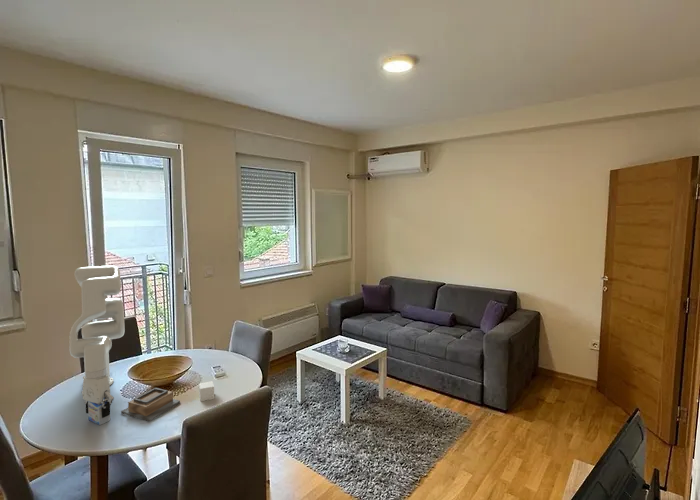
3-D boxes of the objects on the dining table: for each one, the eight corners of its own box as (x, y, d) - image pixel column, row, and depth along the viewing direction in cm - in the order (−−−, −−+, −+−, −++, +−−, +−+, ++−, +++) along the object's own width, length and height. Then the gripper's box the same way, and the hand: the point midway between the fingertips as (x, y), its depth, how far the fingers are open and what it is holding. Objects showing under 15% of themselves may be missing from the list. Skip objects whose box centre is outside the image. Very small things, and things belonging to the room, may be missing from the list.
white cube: (200, 401, 170) (200, 388, 169) (199, 395, 175) (199, 383, 175) (214, 398, 172) (214, 386, 172) (212, 393, 178) (212, 381, 177)
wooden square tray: (121, 413, 158) (120, 399, 158) (152, 396, 173) (152, 383, 173) (150, 421, 153) (149, 407, 152) (180, 403, 168) (179, 390, 167)
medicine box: (88, 420, 153) (87, 400, 152) (99, 415, 157) (98, 395, 156) (99, 425, 149) (98, 404, 148) (110, 420, 153) (109, 400, 152)
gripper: (71, 373, 150) (73, 414, 152) (102, 380, 144) (104, 423, 146) (90, 366, 157) (92, 405, 159) (120, 372, 151) (122, 413, 153)
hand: (98, 413), depth 152 cm, fingers closed on medicine box, 8 cm apart
